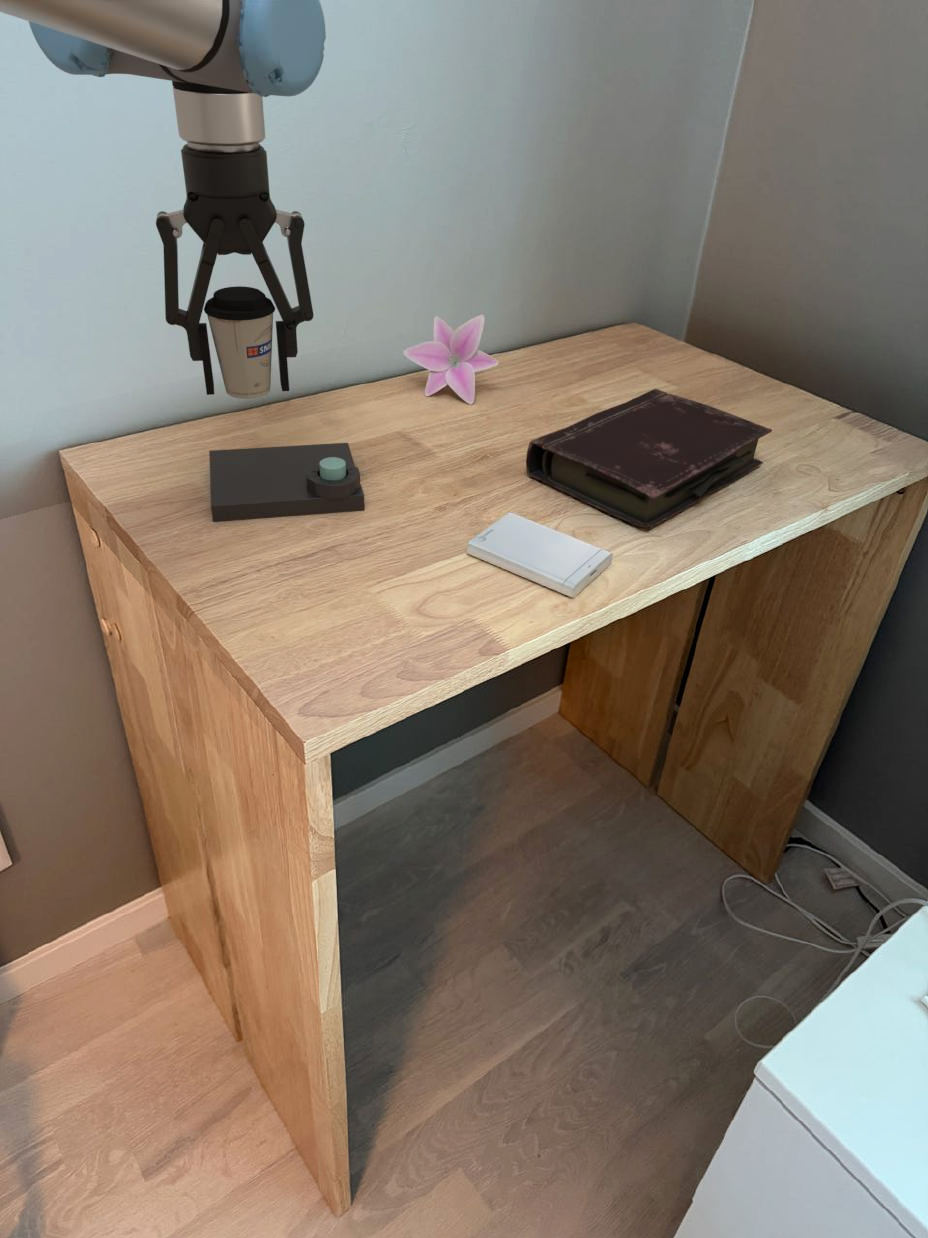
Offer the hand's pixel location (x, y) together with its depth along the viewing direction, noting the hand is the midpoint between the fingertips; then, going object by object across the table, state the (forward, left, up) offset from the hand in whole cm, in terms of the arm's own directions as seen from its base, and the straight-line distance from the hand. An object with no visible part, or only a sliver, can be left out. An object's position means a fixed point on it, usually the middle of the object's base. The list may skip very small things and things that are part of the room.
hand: (247, 387), depth 93 cm
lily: (+28, +23, -11) cm, 38 cm away
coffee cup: (0, 0, 0) cm, 0 cm away
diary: (+46, -4, -11) cm, 48 cm away
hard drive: (+27, -21, -11) cm, 36 cm away
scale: (+3, -2, -11) cm, 12 cm away
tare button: (+8, -6, -8) cm, 13 cm away
